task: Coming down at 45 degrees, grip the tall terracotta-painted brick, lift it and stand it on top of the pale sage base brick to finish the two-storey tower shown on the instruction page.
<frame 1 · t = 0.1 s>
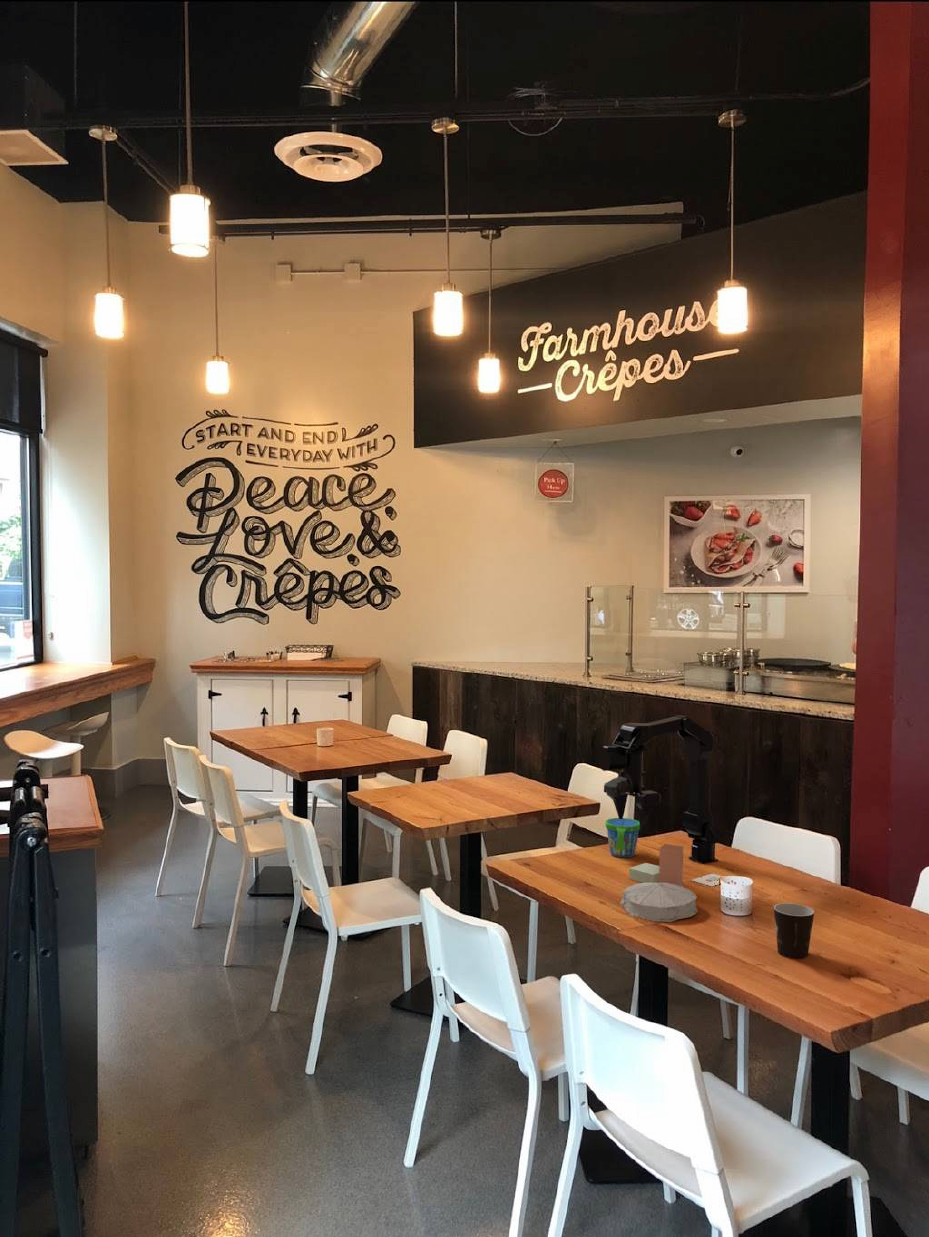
hand: (631, 822, 274), 15 cm above the table, tool pointing down, fingers open, 9 cm apart
grey round stone disc: (658, 910, 245), on the table
instruction page: (712, 880, 269), on the table
base brick: (649, 879, 270), on the table
tall brick: (670, 891, 259), on the table
snack cup: (622, 855, 294), on the table
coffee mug: (790, 956, 215), on the table
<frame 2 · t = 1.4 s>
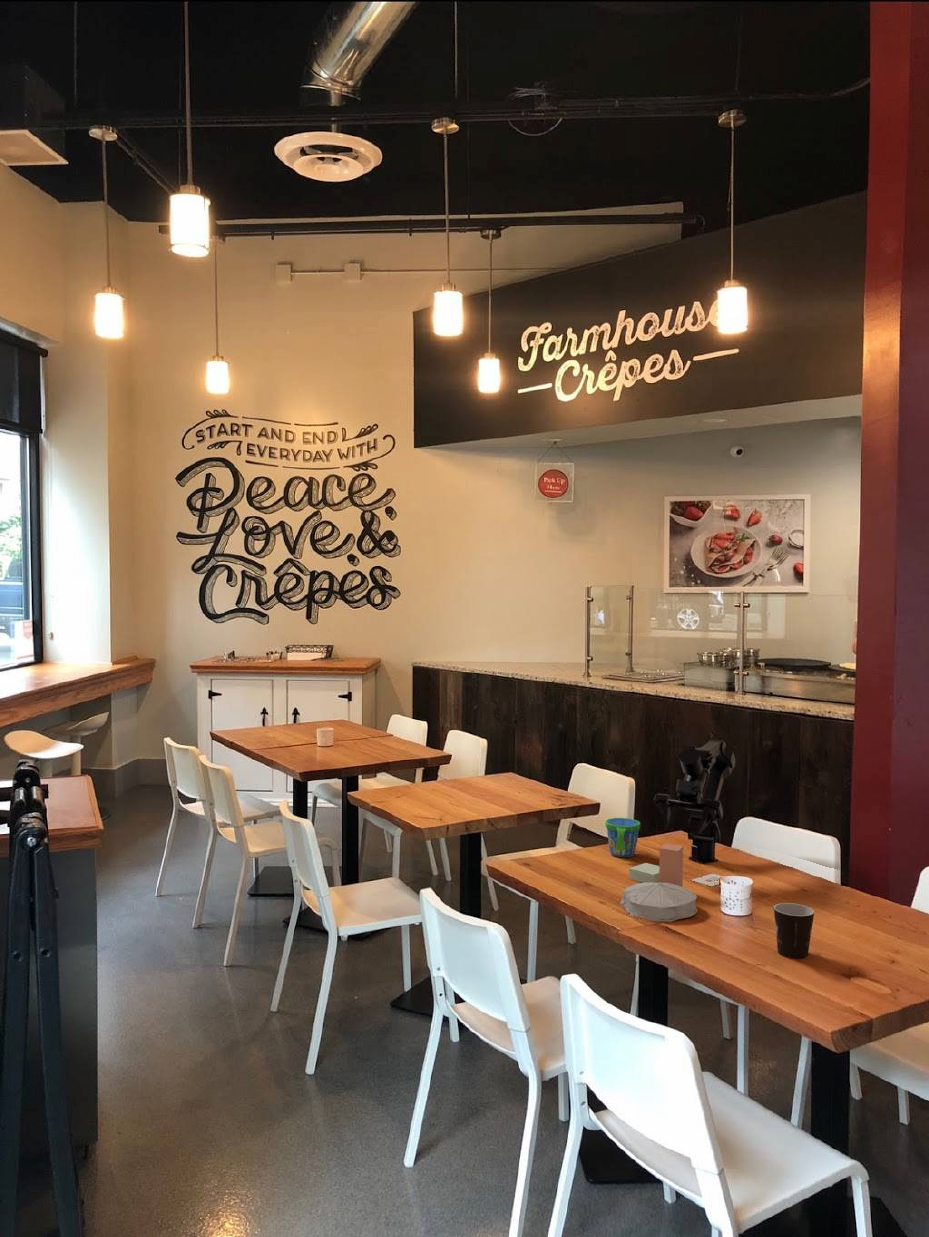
hand: (681, 831, 267), 14 cm above the table, tool tilted 45°, fingers open, 9 cm apart
nothing on the table moved.
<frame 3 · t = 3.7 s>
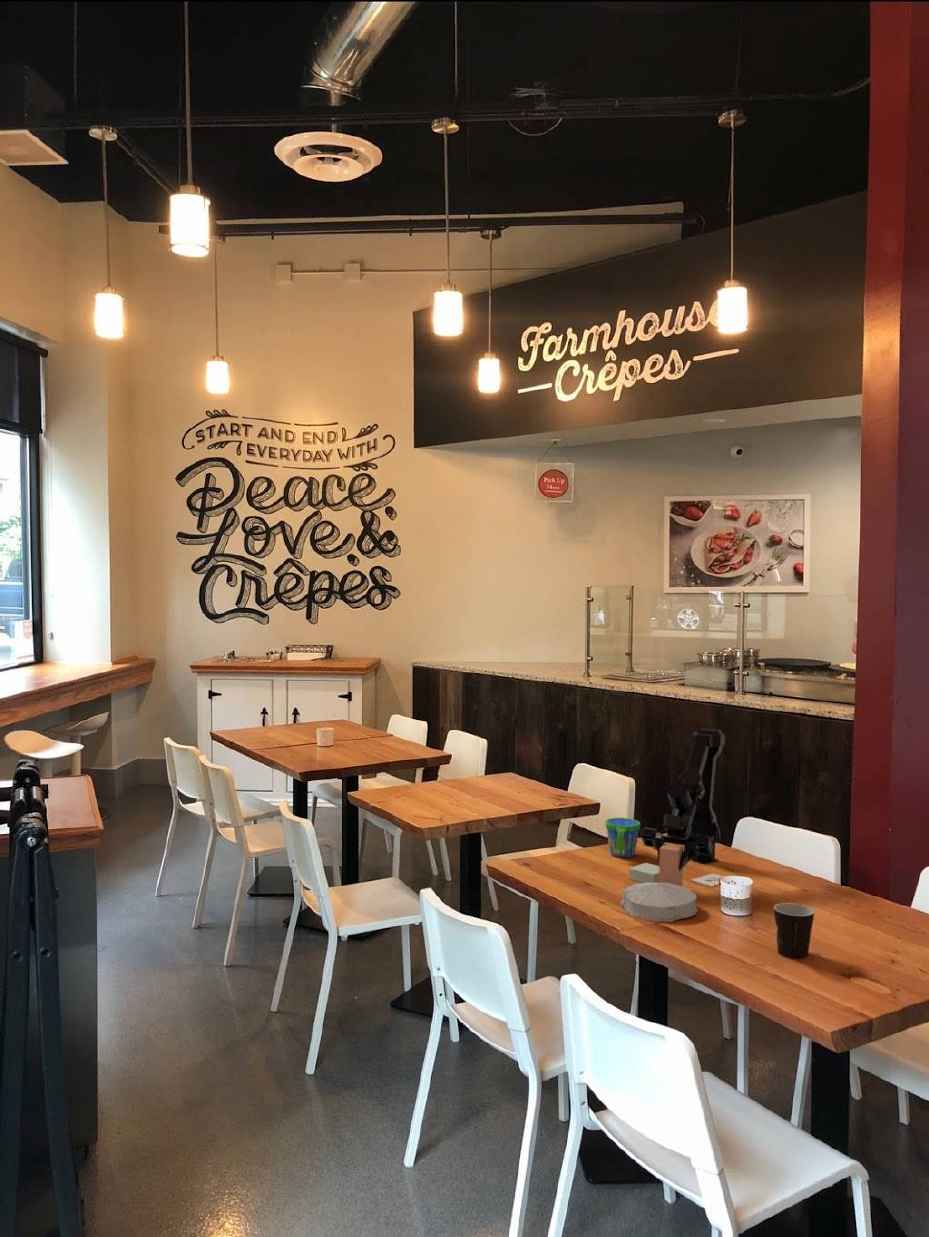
hand: (669, 868, 258), 7 cm above the table, tool tilted 45°, fingers closed on tall brick, 5 cm apart
tall brick: (670, 891, 259), on the table, touching gripper
everything else where it was.
when the fingers open (11 cm above the table, at t = 6.6 s): tall brick drops 1 cm, resting on base brick.
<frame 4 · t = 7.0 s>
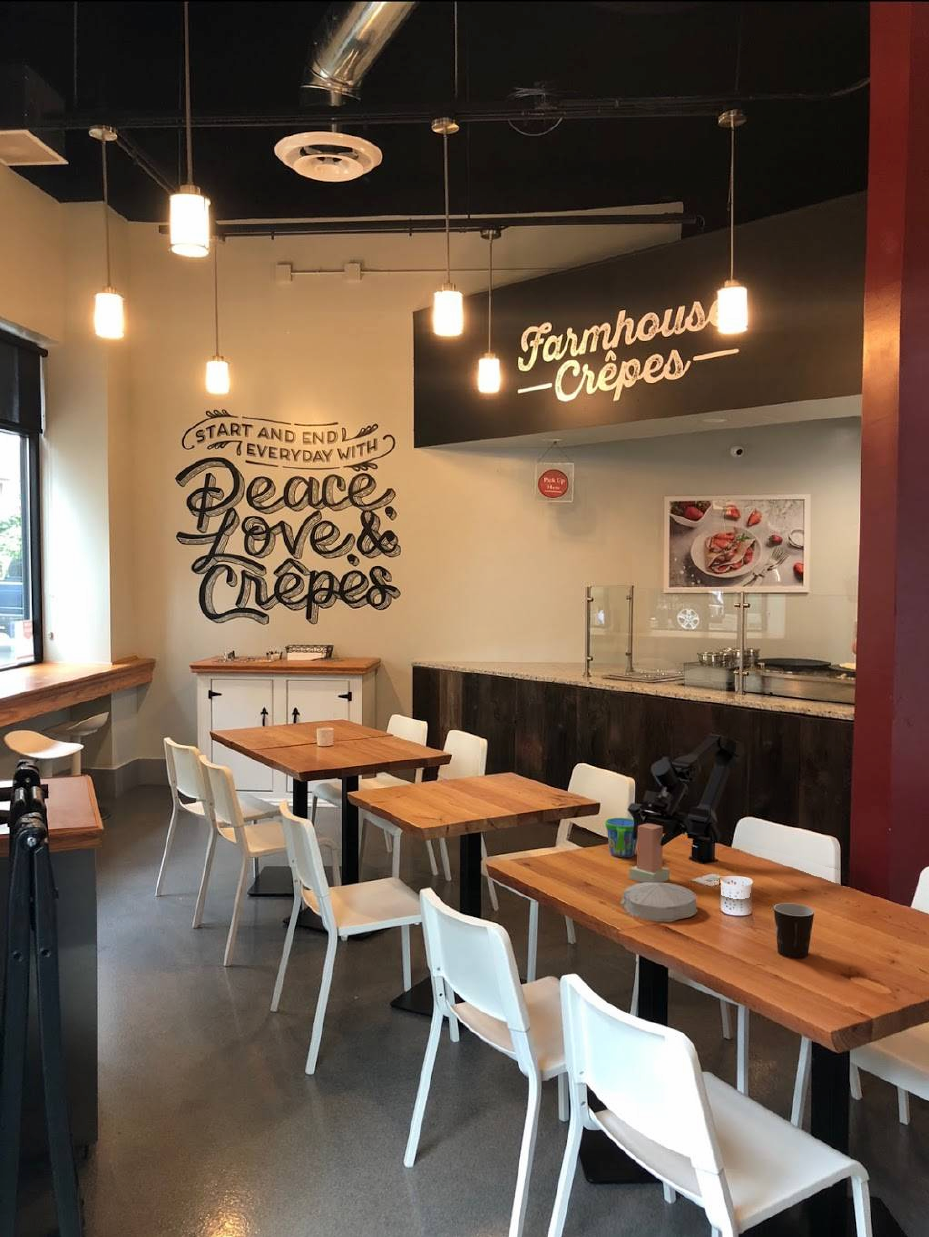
hand: (647, 842, 268), 11 cm above the table, tool tilted 45°, fingers open, 9 cm apart
tall brick: (649, 868, 269), point 3 cm above the table, touching base brick
everything else where it was.
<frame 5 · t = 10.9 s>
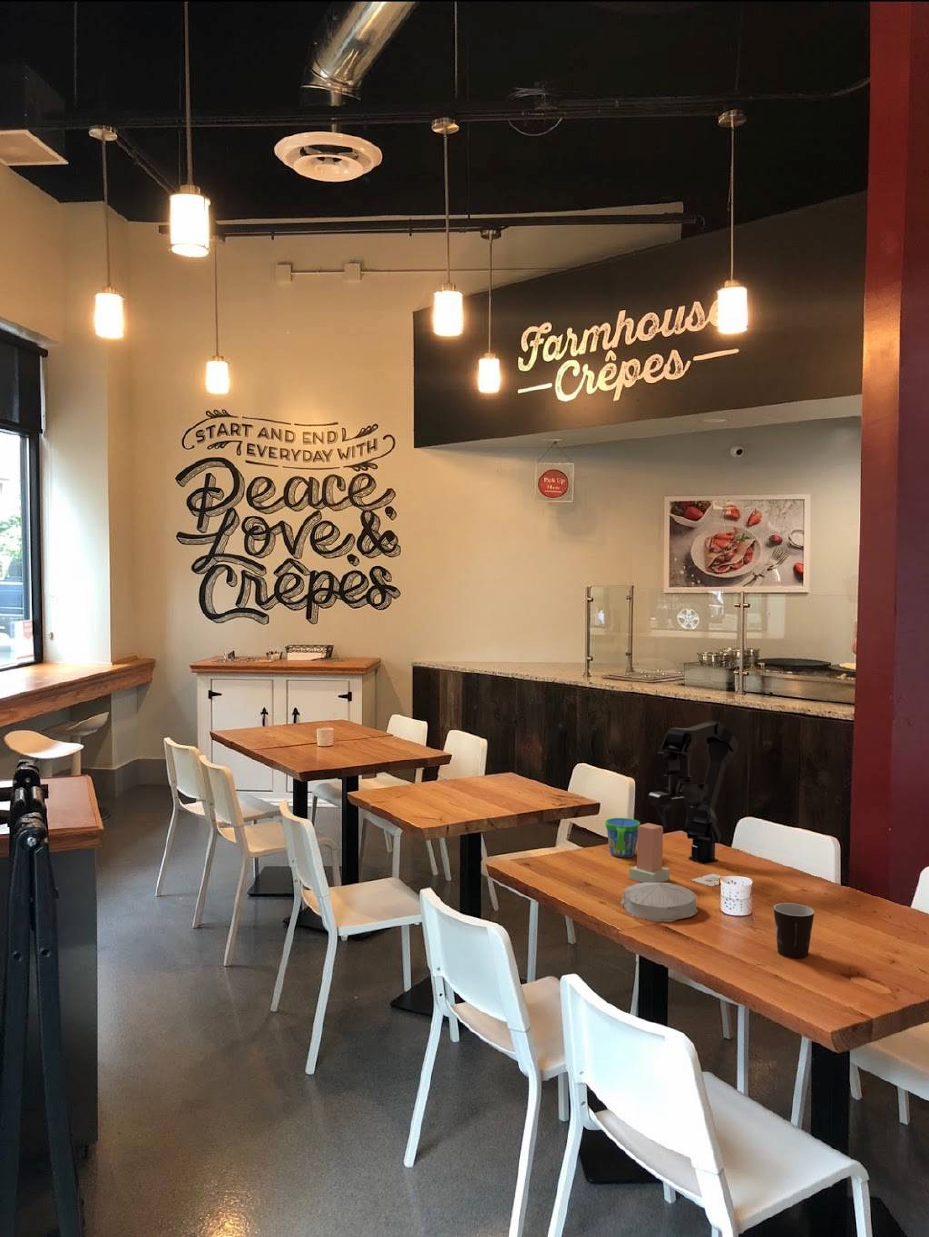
hand: (678, 825, 278), 13 cm above the table, tool pointing down, fingers open, 9 cm apart
nothing on the table moved.
at the end: tall brick 0.0 cm off-centre on the base brick, point 3.0 cm above the base brick's base; tall brick tilted 0°; the gripper is holding nothing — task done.
